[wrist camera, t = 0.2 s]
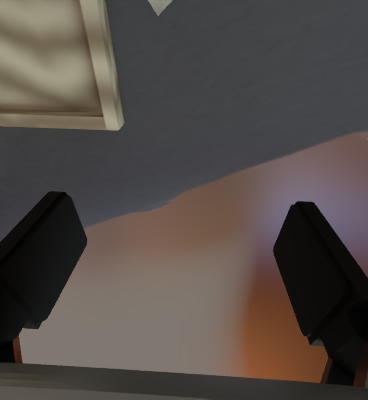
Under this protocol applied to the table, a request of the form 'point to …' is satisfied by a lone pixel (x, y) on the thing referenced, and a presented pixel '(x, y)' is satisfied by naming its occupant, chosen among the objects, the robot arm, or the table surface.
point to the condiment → (159, 5)
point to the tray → (58, 65)
